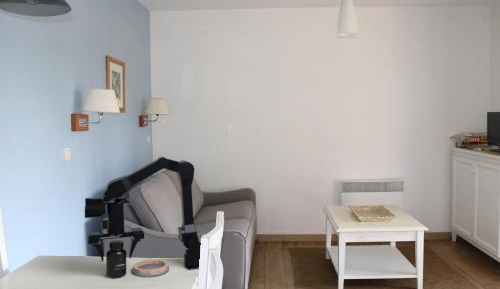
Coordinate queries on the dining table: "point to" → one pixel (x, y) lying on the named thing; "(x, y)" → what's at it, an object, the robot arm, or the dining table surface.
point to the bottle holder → (150, 268)
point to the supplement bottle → (116, 259)
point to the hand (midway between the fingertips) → (116, 259)
